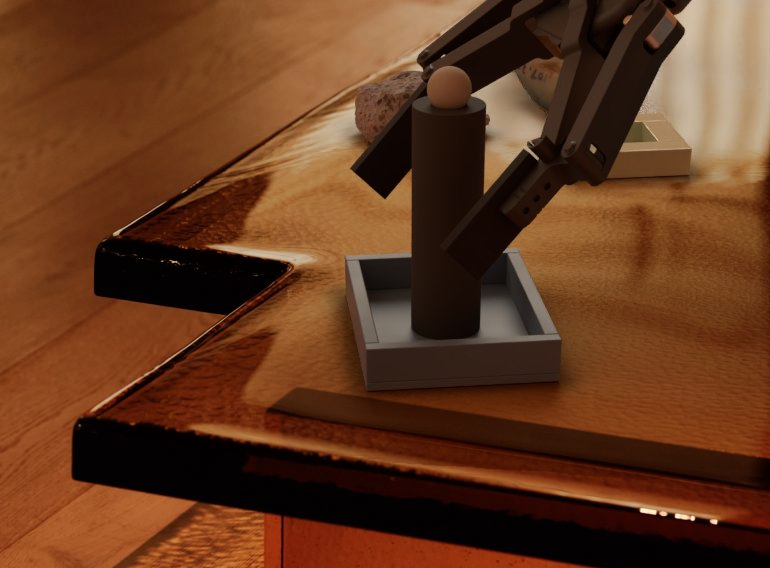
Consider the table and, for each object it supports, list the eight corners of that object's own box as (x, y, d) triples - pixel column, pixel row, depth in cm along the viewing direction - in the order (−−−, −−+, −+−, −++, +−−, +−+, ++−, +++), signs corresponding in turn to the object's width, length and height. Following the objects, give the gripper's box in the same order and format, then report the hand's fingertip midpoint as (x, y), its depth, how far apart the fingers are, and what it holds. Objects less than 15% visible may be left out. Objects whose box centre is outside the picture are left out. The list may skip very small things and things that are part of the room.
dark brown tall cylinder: (485, 338, 91) (493, 75, 84) (415, 342, 91) (416, 78, 83) (474, 310, 95) (481, 55, 87) (407, 314, 94) (407, 58, 87)
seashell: (527, 47, 137) (499, 5, 127) (628, 72, 134) (608, 30, 124) (503, 118, 137) (473, 81, 127) (603, 144, 134) (581, 108, 125)
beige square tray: (689, 175, 117) (692, 148, 116) (570, 180, 116) (571, 153, 115) (659, 138, 124) (661, 112, 123) (546, 142, 123) (548, 117, 122)
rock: (369, 110, 131) (368, 60, 129) (499, 120, 128) (500, 69, 126) (337, 144, 124) (336, 91, 122) (474, 155, 121) (475, 101, 119)
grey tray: (559, 381, 88) (562, 339, 86) (366, 391, 87) (365, 349, 86) (516, 285, 99) (517, 247, 98) (345, 293, 98) (344, 255, 97)
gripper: (846, 11, 77) (551, 344, 81) (604, -78, 98) (375, 192, 101) (764, -97, 73) (455, 260, 76) (528, -166, 93) (292, 118, 97)
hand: (409, 222), depth 89 cm, fingers open, 13 cm apart
